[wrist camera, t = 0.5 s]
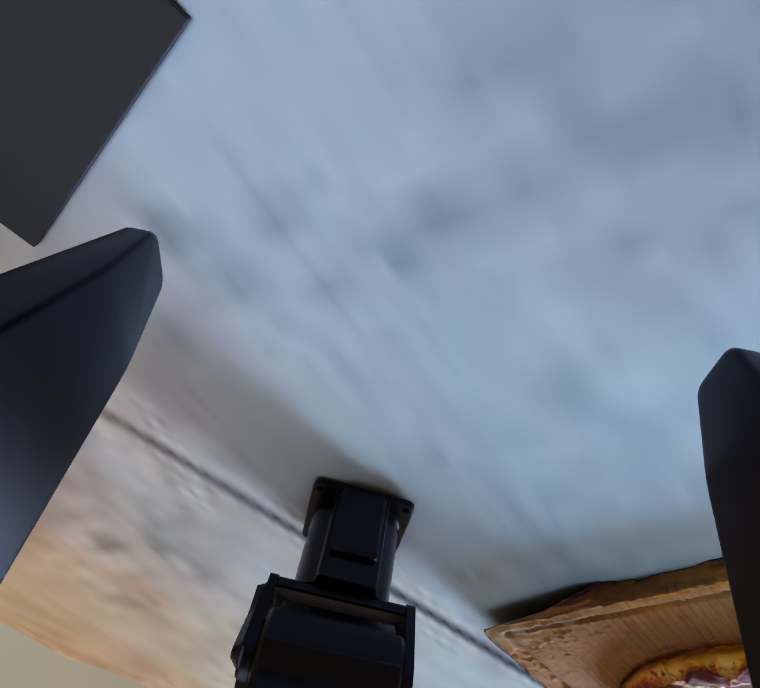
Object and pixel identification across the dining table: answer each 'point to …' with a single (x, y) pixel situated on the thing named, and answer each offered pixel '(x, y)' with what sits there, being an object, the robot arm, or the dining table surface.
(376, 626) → the robot arm
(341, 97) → the dining table surface
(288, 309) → the dining table surface
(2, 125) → the placemat
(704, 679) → the pizza
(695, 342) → the dining table surface
